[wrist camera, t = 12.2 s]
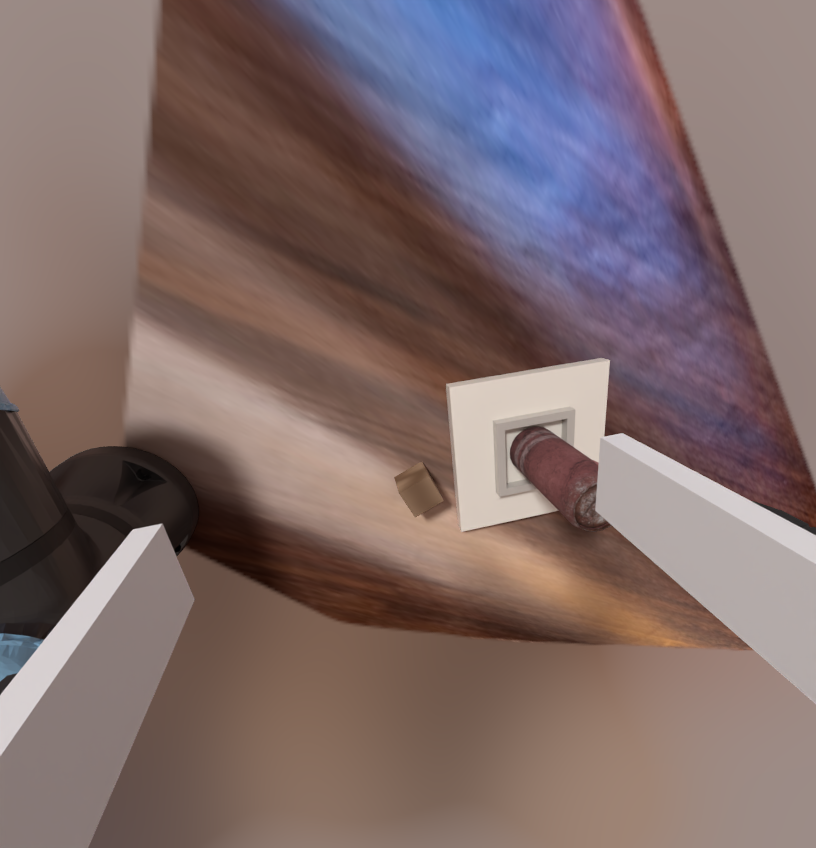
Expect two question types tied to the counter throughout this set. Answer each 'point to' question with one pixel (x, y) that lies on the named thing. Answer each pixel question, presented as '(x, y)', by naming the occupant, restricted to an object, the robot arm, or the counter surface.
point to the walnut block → (418, 489)
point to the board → (504, 419)
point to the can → (560, 475)
